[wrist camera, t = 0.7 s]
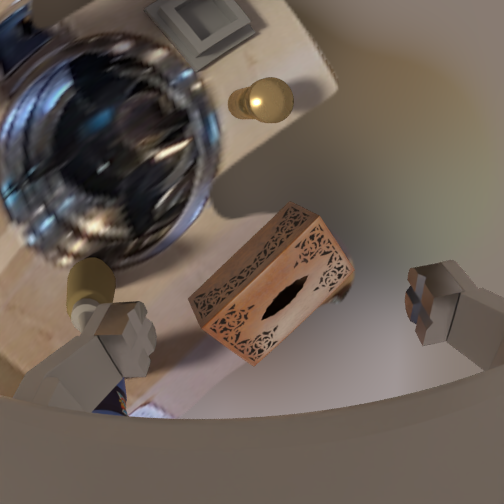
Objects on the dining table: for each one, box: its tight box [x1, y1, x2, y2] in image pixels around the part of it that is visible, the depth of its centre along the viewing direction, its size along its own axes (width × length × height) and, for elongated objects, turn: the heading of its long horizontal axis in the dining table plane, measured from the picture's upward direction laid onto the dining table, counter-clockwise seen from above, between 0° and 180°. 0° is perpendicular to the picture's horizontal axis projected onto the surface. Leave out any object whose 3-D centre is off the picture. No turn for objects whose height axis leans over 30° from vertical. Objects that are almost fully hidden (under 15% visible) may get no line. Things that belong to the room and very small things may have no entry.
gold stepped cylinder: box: [228, 77, 294, 123], centre depth 44 cm, size 6×6×11 cm
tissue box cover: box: [188, 201, 354, 366], centre depth 58 cm, size 26×14×10 cm, turn 128°
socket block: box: [144, 0, 256, 72], centre depth 39 cm, size 14×12×4 cm
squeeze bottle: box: [66, 257, 116, 333], centre depth 42 cm, size 8×8×18 cm
